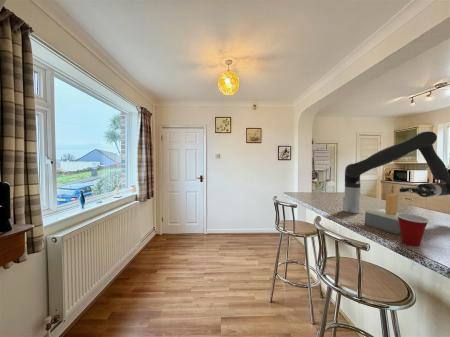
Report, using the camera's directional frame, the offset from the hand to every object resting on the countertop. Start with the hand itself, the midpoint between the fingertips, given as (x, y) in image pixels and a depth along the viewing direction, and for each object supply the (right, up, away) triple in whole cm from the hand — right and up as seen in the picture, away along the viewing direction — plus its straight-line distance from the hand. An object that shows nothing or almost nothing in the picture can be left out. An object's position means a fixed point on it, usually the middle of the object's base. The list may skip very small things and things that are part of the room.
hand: (408, 191), depth 118 cm
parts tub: (-12, -19, -3) cm, 23 cm away
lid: (-12, -14, -3) cm, 19 cm away
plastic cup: (-19, -20, -24) cm, 37 cm away
